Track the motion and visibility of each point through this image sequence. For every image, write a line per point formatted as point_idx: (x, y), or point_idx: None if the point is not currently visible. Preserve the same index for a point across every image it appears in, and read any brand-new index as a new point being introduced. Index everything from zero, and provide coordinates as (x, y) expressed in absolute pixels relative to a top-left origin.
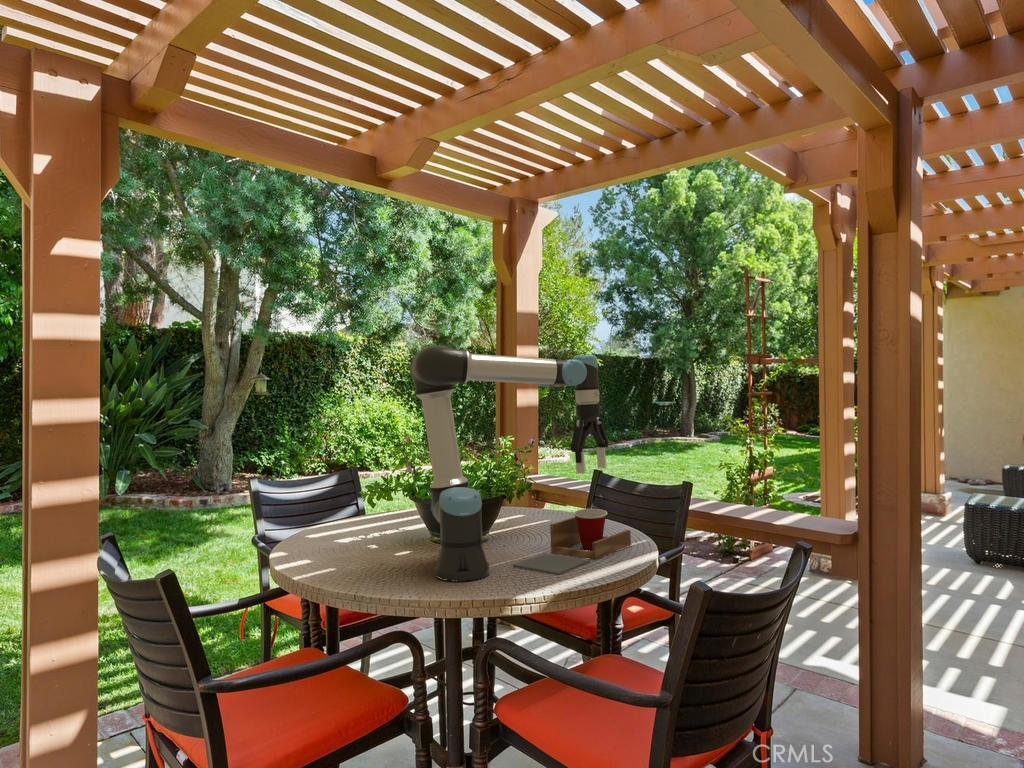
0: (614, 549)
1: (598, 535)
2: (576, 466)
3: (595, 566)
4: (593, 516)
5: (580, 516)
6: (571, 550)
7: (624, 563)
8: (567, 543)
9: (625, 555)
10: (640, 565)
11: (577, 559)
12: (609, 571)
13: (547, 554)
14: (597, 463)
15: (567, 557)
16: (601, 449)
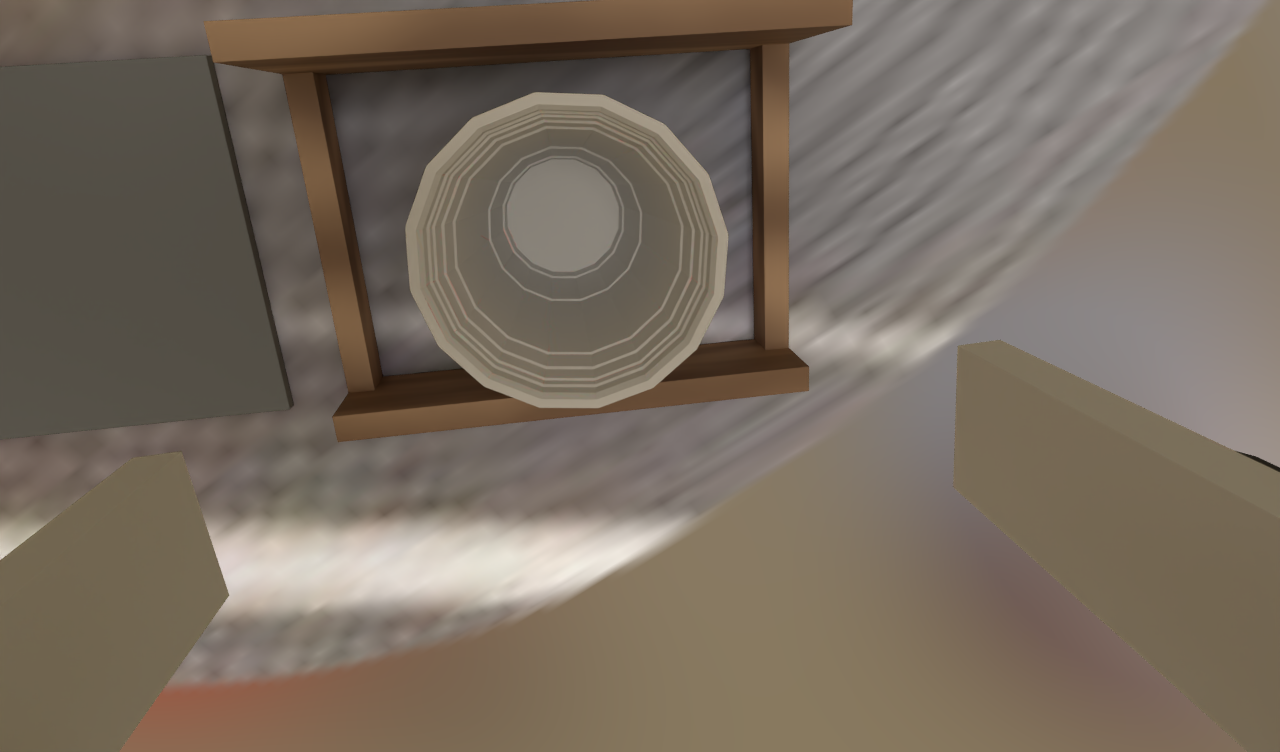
0: None
1: (543, 315)
2: (53, 534)
3: (250, 477)
4: (678, 201)
5: (411, 260)
6: (316, 232)
7: (413, 550)
8: (468, 63)
9: (561, 461)
10: (436, 623)
11: (249, 341)
12: (229, 583)
13: (192, 92)
14: (1001, 371)
15: (239, 260)
16: (1242, 669)
